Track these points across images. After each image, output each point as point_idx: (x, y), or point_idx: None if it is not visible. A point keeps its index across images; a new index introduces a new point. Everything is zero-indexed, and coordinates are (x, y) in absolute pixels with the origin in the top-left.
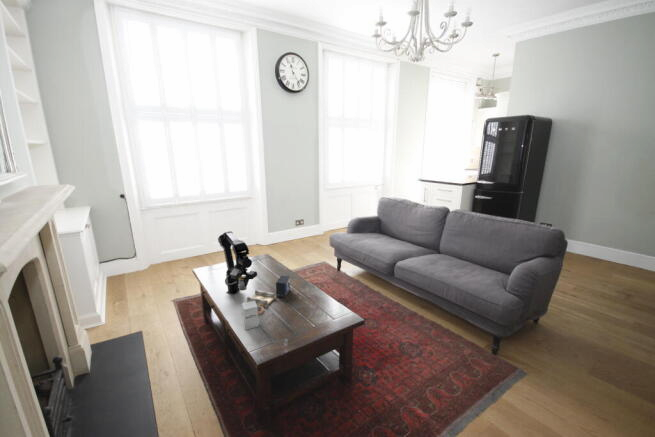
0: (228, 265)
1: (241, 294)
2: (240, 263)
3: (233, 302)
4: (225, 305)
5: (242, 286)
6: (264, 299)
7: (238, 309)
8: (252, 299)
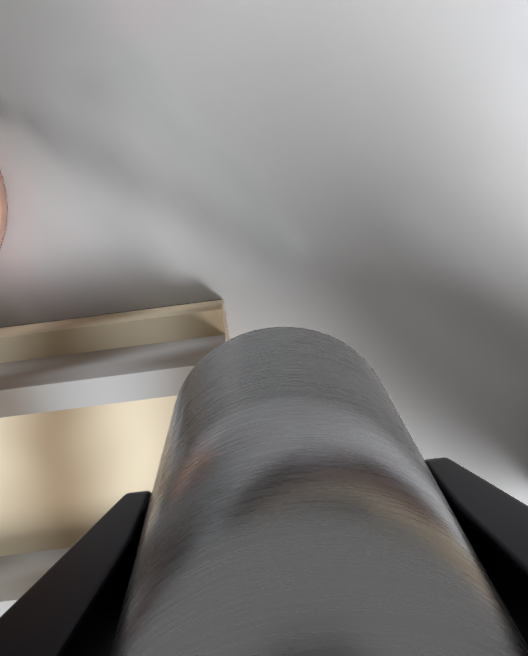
0: None
1: (464, 451)
2: None
3: (440, 229)
4: (514, 88)
5: (197, 430)
6: (21, 477)
7: (214, 92)
8: (109, 367)
